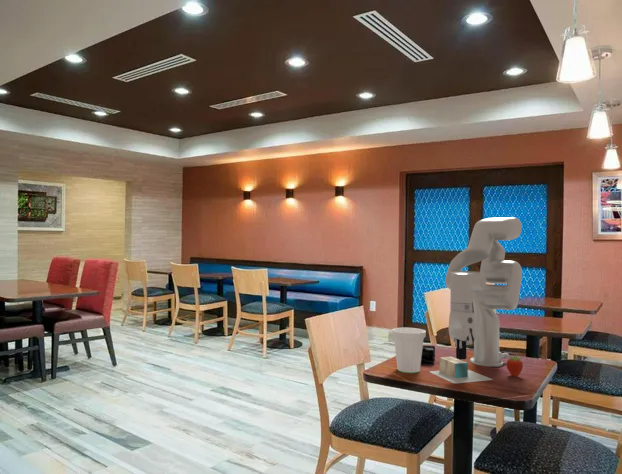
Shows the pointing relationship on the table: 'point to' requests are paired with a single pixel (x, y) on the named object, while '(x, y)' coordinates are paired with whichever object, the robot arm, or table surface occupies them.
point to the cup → (408, 348)
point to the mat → (471, 377)
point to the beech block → (454, 367)
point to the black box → (428, 355)
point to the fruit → (514, 366)
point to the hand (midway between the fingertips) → (461, 358)
